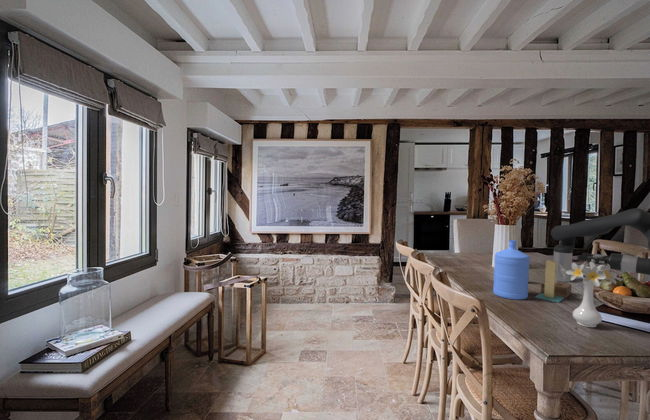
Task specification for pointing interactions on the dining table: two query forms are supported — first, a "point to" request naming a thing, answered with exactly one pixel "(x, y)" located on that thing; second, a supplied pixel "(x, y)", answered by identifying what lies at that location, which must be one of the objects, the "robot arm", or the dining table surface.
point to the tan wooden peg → (550, 279)
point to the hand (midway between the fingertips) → (579, 256)
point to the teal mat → (556, 299)
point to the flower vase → (588, 291)
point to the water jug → (511, 273)
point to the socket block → (560, 289)
